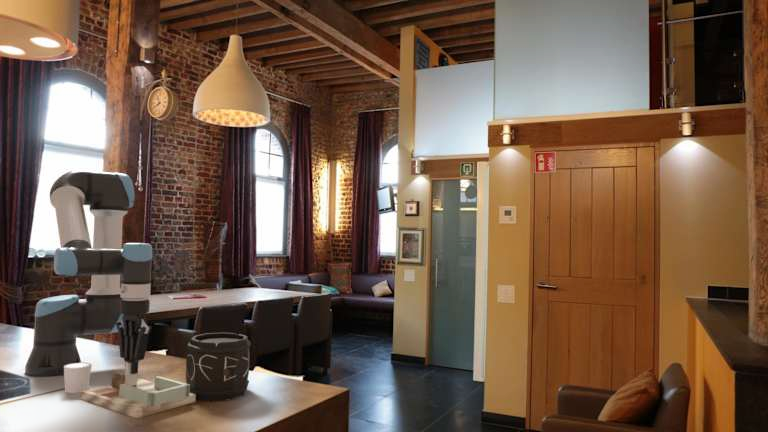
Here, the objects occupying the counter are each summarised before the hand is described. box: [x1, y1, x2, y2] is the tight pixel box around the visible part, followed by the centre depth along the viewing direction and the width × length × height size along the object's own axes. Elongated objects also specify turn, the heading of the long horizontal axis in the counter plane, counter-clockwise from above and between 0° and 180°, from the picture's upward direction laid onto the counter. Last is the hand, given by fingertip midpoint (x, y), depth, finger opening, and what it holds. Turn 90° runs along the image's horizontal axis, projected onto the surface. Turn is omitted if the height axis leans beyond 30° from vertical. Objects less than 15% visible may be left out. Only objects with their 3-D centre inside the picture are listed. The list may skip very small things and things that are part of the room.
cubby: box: [119, 375, 190, 407], centre depth 143 cm, size 14×12×3 cm
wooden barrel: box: [185, 332, 251, 402], centre depth 155 cm, size 18×18×16 cm
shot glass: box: [63, 362, 92, 394], centre depth 153 cm, size 7×7×7 cm
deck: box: [80, 378, 197, 419], centre depth 146 cm, size 25×17×2 cm
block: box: [111, 369, 136, 389], centre depth 151 cm, size 4×4×4 cm
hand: (130, 385), depth 149 cm, fingers closed
